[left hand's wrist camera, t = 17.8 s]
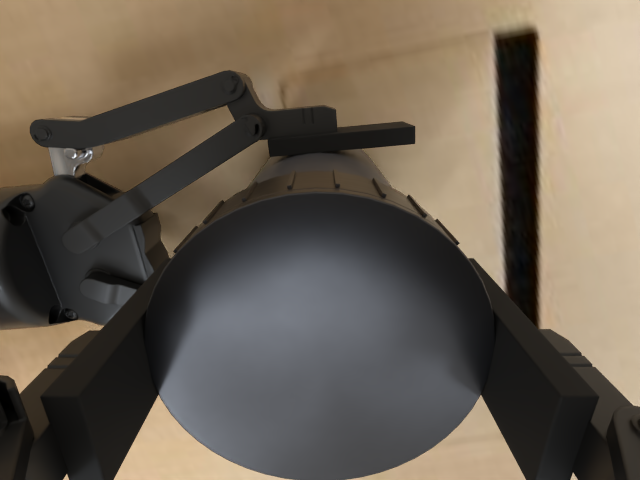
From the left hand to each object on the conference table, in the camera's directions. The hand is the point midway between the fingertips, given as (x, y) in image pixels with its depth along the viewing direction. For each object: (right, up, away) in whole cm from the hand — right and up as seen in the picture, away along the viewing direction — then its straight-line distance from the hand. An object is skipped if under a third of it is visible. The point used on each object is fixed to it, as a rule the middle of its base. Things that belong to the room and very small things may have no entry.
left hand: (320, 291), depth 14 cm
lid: (0, -1, -3) cm, 3 cm away
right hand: (+5, +3, +6) cm, 8 cm away
